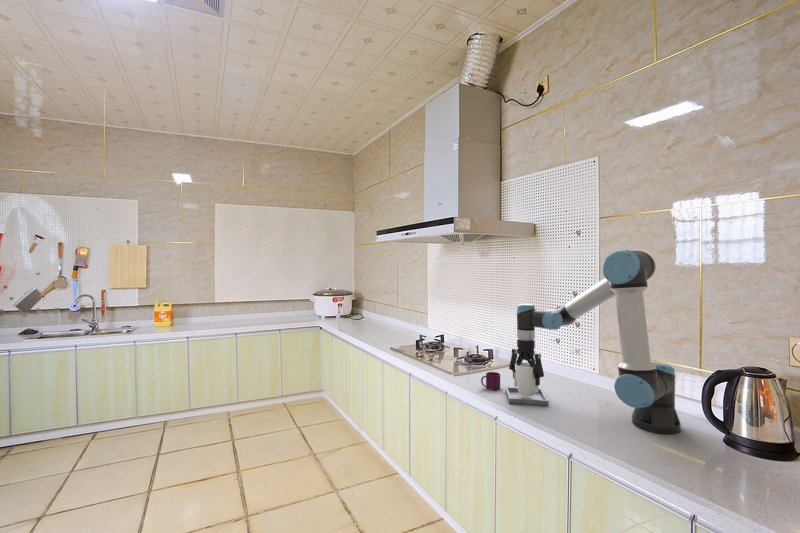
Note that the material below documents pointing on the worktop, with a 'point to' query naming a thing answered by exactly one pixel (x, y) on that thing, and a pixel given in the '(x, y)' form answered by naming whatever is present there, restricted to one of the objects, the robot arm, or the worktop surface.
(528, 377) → the foam cup
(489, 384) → the cup
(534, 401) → the tray
